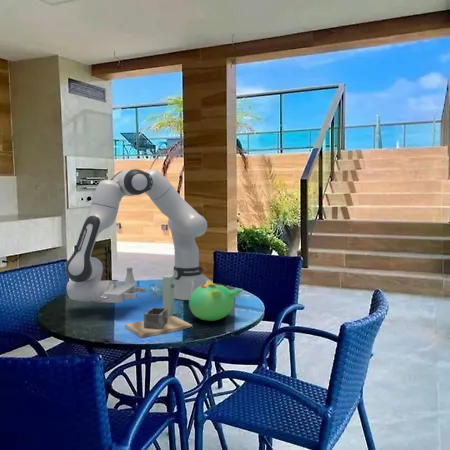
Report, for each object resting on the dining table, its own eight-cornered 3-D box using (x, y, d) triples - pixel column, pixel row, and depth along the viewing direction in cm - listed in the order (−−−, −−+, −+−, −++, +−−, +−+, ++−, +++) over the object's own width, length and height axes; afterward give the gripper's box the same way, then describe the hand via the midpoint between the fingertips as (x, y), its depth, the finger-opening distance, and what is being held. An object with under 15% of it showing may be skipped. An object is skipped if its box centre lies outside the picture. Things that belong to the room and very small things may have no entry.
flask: (133, 290, 229) (133, 269, 228) (119, 289, 230) (119, 269, 229) (139, 286, 236) (139, 267, 235) (125, 286, 237) (125, 266, 237)
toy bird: (211, 311, 194) (211, 275, 192) (244, 319, 183) (244, 281, 182) (180, 320, 180) (180, 282, 178) (213, 329, 169) (214, 289, 168)
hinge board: (173, 318, 182) (173, 302, 181) (192, 328, 170) (192, 311, 170) (124, 327, 170) (124, 310, 170) (141, 337, 159) (141, 319, 158)
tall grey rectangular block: (166, 313, 189) (166, 274, 187) (177, 314, 188) (177, 274, 187) (162, 317, 183) (162, 277, 182) (173, 318, 182) (173, 277, 181)
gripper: (96, 289, 178) (131, 291, 176) (116, 278, 198) (148, 280, 196) (96, 306, 179) (131, 307, 177) (116, 293, 199) (148, 295, 197)
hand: (140, 293), depth 187 cm, fingers open, 8 cm apart
